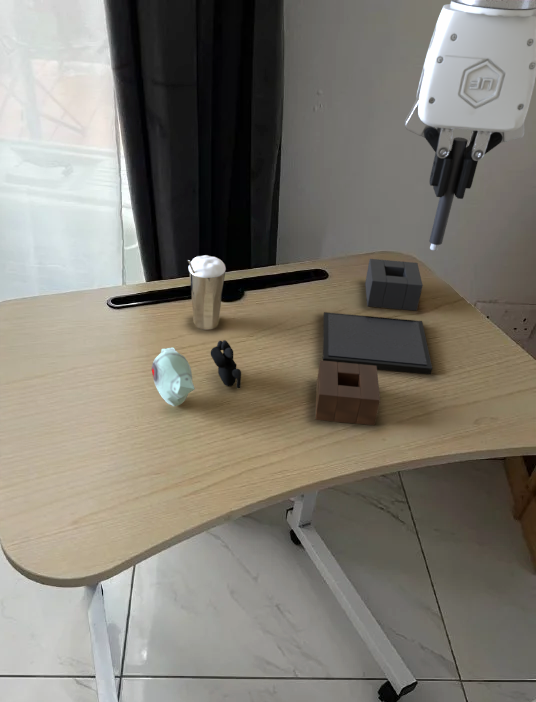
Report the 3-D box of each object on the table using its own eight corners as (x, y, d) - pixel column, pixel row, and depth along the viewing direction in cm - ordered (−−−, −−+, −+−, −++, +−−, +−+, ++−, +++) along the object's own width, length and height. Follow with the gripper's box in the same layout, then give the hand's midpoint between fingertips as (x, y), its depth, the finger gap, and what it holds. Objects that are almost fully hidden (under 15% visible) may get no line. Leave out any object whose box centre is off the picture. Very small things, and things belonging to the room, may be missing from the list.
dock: (411, 287, 96) (417, 262, 94) (416, 311, 91) (422, 285, 89) (365, 283, 97) (369, 258, 94) (367, 306, 91) (372, 280, 89)
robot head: (201, 422, 70) (201, 371, 66) (163, 430, 69) (162, 378, 65) (179, 380, 76) (179, 330, 72) (145, 386, 75) (142, 336, 71)
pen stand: (371, 390, 76) (376, 365, 74) (374, 425, 71) (380, 400, 69) (316, 384, 77) (319, 360, 74) (315, 419, 72) (319, 394, 69)
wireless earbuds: (243, 397, 74) (245, 361, 71) (222, 401, 73) (223, 364, 70) (223, 363, 79) (224, 327, 76) (203, 366, 79) (203, 330, 75)
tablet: (420, 326, 88) (422, 320, 87) (430, 374, 79) (432, 367, 79) (323, 317, 89) (323, 311, 88) (322, 364, 80) (323, 357, 79)
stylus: (439, 246, 75) (466, 137, 67) (441, 252, 74) (468, 141, 66) (426, 245, 75) (452, 136, 67) (428, 251, 74) (454, 140, 66)
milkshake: (176, 324, 86) (175, 253, 79) (206, 310, 89) (208, 241, 83) (200, 339, 83) (201, 267, 77) (230, 324, 86) (233, 253, 80)
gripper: (413, -9, 56) (376, 200, 68) (600, 3, 55) (530, 213, 67) (404, -19, 62) (372, 175, 74) (573, -9, 61) (514, 186, 73)
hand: (447, 192), depth 70 cm, fingers closed on stylus, 1 cm apart
